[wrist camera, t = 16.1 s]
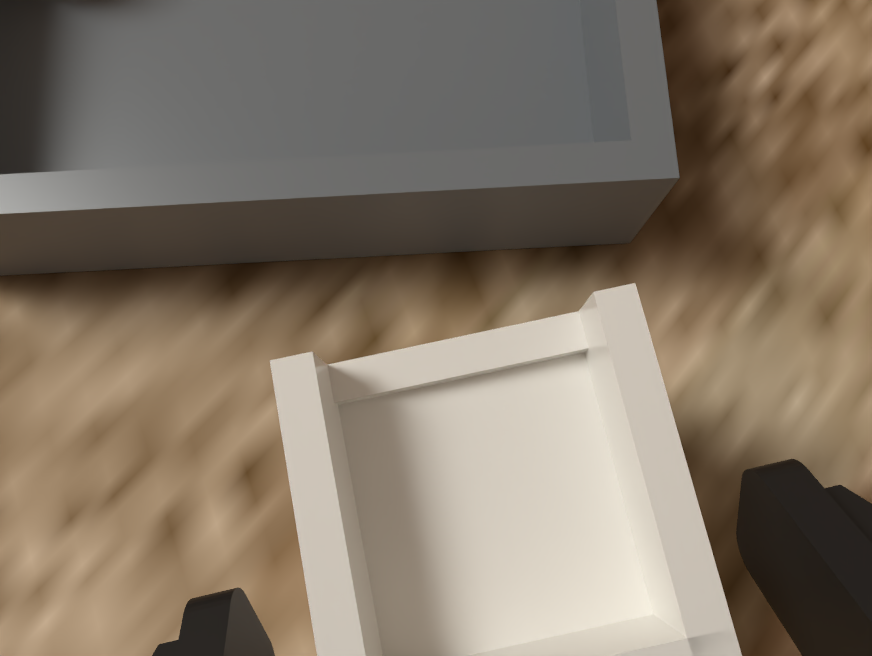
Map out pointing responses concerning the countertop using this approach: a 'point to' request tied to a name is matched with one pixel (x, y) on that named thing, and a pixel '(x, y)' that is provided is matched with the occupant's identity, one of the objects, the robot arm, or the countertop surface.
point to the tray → (325, 129)
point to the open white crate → (501, 496)
